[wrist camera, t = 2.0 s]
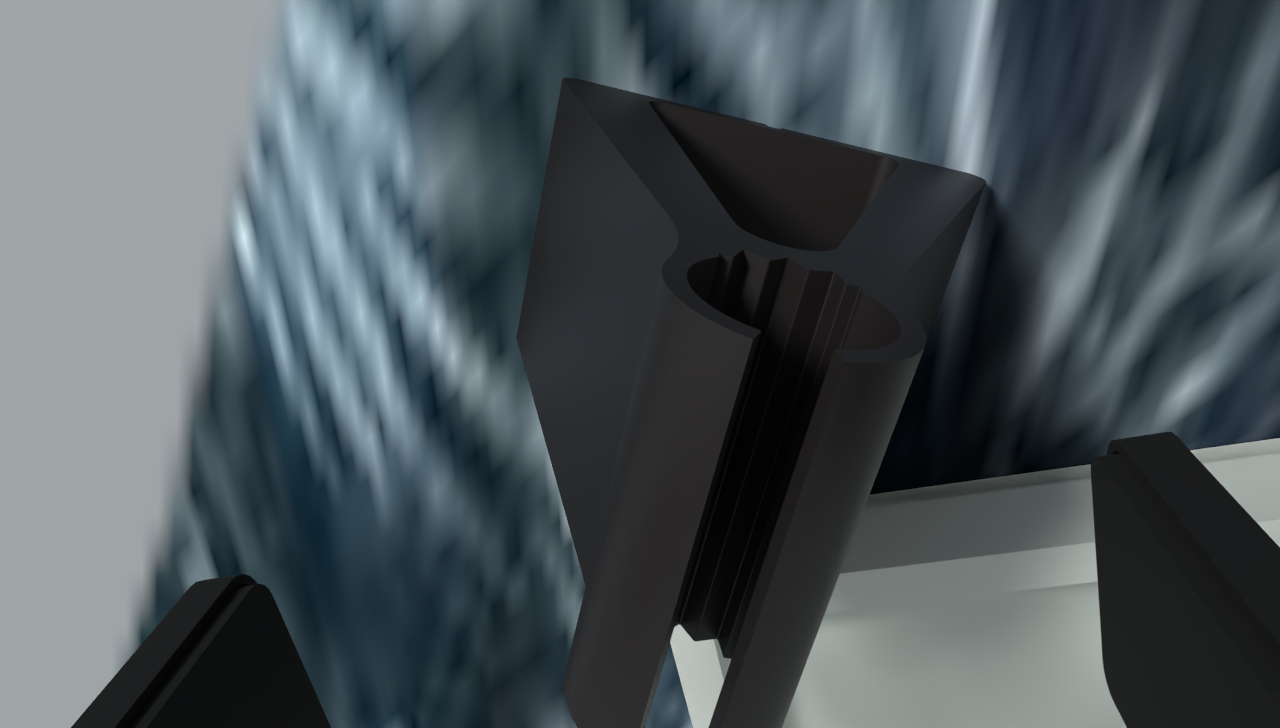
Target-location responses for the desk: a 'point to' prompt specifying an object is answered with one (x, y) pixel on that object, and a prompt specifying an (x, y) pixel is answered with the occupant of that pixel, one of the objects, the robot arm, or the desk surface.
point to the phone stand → (720, 378)
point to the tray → (971, 606)
